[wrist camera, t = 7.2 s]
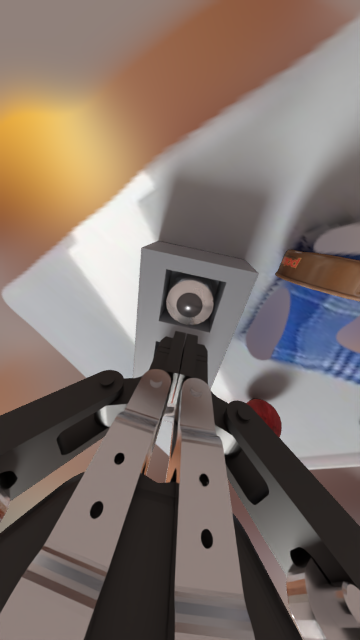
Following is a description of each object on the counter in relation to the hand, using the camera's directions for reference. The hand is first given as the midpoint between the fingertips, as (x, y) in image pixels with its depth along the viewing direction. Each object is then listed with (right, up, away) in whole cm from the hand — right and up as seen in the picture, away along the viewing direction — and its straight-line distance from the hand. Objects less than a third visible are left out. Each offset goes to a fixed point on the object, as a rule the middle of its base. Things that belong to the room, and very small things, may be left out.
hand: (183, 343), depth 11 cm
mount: (0, -1, +14) cm, 14 cm away
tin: (+17, +7, +8) cm, 20 cm away
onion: (+13, -12, +19) cm, 26 cm away
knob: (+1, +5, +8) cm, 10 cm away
